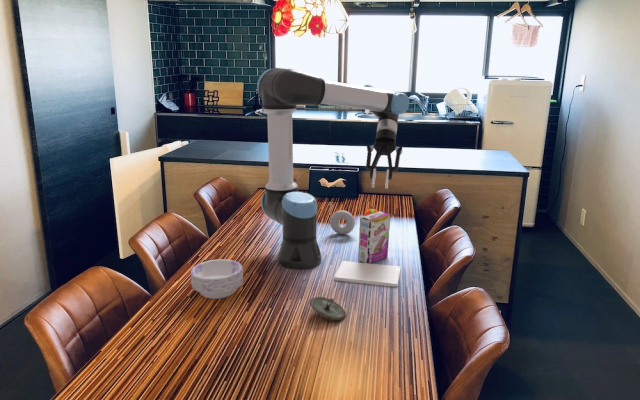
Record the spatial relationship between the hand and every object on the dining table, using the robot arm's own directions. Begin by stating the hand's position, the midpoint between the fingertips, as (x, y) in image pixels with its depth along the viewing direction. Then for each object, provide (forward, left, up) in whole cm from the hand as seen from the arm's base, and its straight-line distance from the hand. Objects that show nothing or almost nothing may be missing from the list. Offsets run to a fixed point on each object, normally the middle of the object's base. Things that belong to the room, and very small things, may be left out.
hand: (379, 186), depth 182 cm
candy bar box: (-8, -7, -24) cm, 27 cm away
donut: (0, +20, -24) cm, 32 cm away
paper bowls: (-64, +1, -25) cm, 68 cm away
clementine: (+18, +22, -24) cm, 38 cm away
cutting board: (-18, -15, -24) cm, 34 cm away
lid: (-46, -29, -25) cm, 59 cm away
